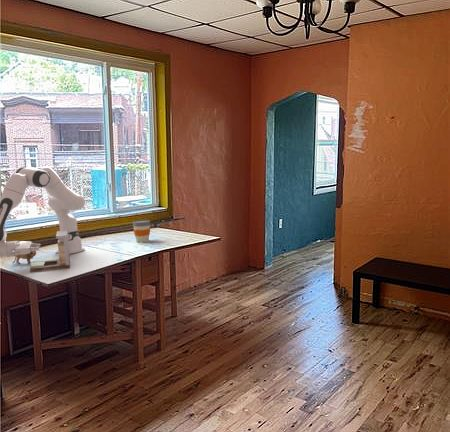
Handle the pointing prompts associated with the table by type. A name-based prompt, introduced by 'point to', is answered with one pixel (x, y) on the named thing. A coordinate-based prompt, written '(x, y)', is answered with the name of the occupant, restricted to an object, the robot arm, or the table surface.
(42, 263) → the sage pad
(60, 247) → the beech block
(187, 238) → the table surface
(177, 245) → the table surface
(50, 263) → the walnut board
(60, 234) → the grey tunnel
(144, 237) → the reusable coffee cup
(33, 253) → the lion figurine
